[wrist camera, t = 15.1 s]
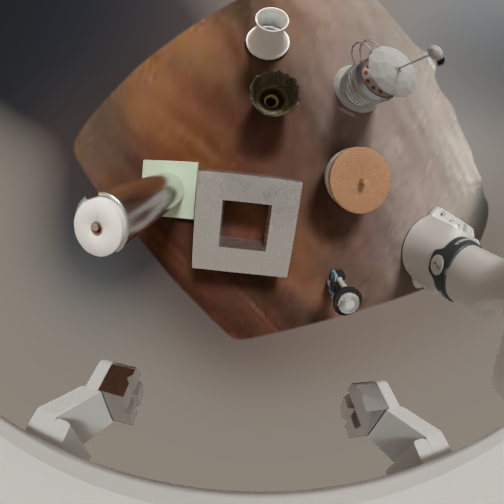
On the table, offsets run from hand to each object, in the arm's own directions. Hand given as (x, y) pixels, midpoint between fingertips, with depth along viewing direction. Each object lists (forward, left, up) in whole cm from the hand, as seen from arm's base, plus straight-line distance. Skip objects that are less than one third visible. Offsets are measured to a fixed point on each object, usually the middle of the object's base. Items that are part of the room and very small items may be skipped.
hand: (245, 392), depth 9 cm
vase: (0, -30, -41) cm, 51 cm away
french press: (-17, -25, -41) cm, 51 cm away
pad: (+14, -1, -41) cm, 43 cm away
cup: (-2, -18, -41) cm, 45 cm away
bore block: (0, +3, -41) cm, 41 cm away
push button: (-19, +14, -41) cm, 48 cm away
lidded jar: (-17, -7, -41) cm, 45 cm away
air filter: (+14, -1, -40) cm, 43 cm away
